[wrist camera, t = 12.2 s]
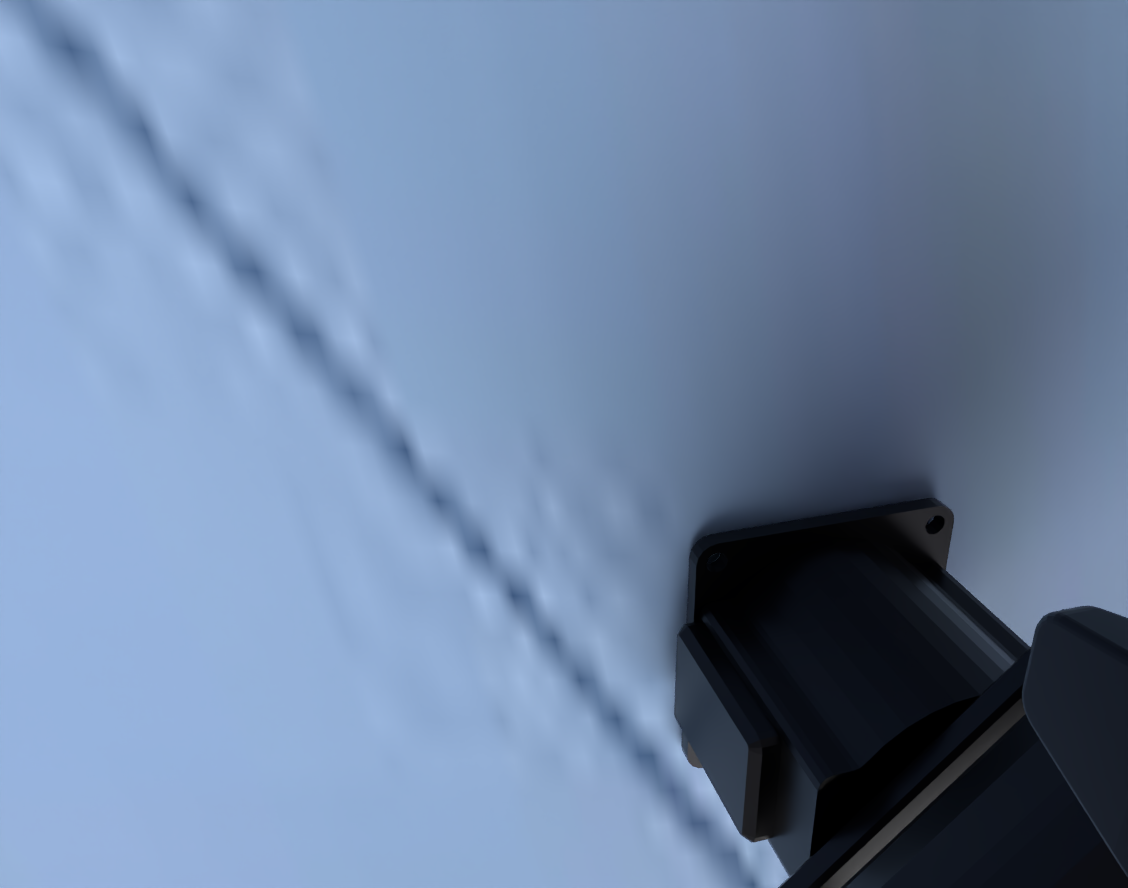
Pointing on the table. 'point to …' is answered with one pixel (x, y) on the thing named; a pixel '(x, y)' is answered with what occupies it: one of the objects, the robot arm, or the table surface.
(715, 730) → the robot arm
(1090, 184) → the table surface
